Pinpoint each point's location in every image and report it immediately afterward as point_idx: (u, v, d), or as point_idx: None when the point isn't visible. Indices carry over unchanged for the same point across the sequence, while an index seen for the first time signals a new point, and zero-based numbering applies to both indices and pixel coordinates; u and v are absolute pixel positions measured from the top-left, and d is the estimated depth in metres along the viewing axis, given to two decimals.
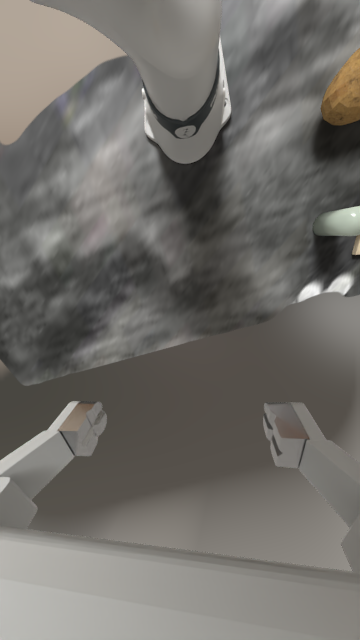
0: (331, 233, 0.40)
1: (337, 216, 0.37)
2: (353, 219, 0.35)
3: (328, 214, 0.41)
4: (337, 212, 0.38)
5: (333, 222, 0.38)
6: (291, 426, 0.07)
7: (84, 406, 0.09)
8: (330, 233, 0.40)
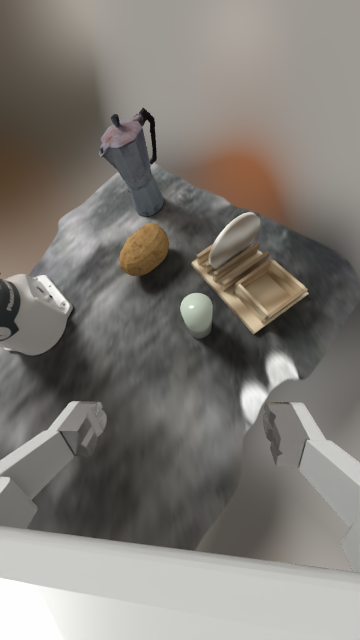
0: (196, 330, 0.33)
1: None
2: (189, 309, 0.29)
3: None
4: None
5: None
6: (291, 426, 0.07)
7: (84, 406, 0.09)
8: (196, 330, 0.33)
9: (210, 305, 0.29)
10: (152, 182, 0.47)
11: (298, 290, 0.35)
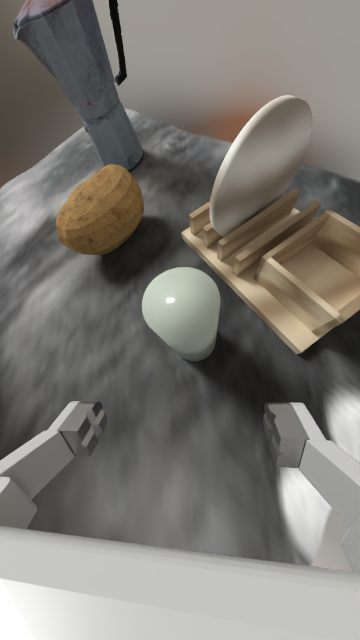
0: (185, 351, 0.15)
1: None
2: (163, 305, 0.12)
3: None
4: None
5: None
6: (291, 426, 0.07)
7: (84, 406, 0.09)
8: (185, 352, 0.16)
9: (214, 295, 0.12)
10: (121, 112, 0.30)
11: None
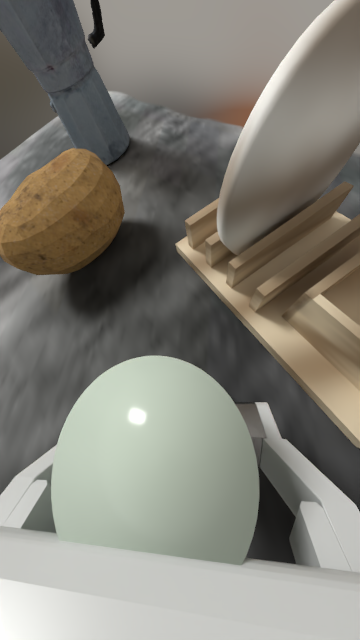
0: None
1: None
2: (103, 472, 0.04)
3: None
4: None
5: None
6: (251, 425, 0.07)
7: None
8: None
9: (242, 457, 0.04)
10: (97, 84, 0.23)
11: None
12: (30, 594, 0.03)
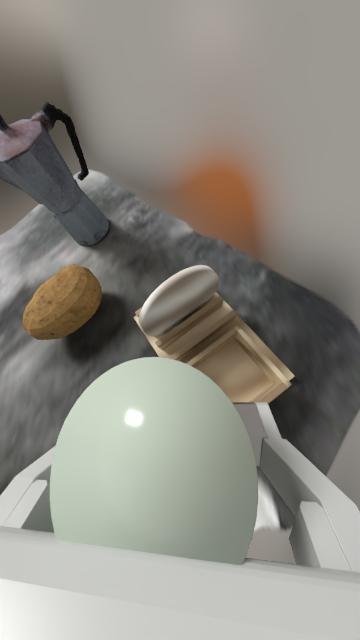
0: None
1: None
2: (102, 474, 0.04)
3: None
4: None
5: None
6: (251, 425, 0.07)
7: None
8: None
9: (241, 460, 0.04)
10: (84, 204, 0.34)
11: (277, 380, 0.22)
12: (30, 594, 0.03)
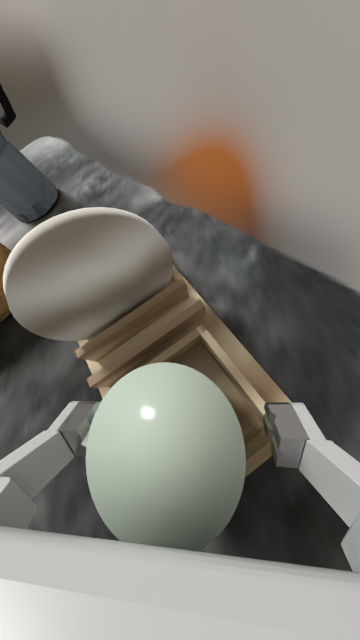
0: None
1: None
2: (127, 453, 0.06)
3: None
4: None
5: None
6: (291, 426, 0.07)
7: (84, 406, 0.09)
8: None
9: (233, 441, 0.05)
10: (11, 159, 0.25)
11: None
12: (30, 594, 0.03)
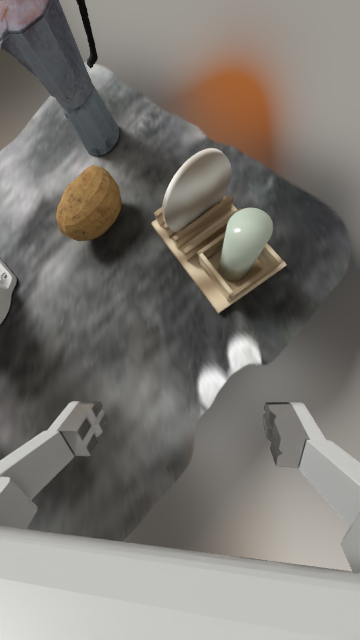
0: (239, 266, 0.25)
1: (223, 245, 0.24)
2: (239, 231, 0.21)
3: None
4: None
5: (226, 253, 0.24)
6: (291, 426, 0.07)
7: (84, 406, 0.09)
8: (239, 267, 0.26)
9: (270, 224, 0.21)
10: (96, 99, 0.33)
11: (272, 261, 0.28)
12: (30, 594, 0.03)
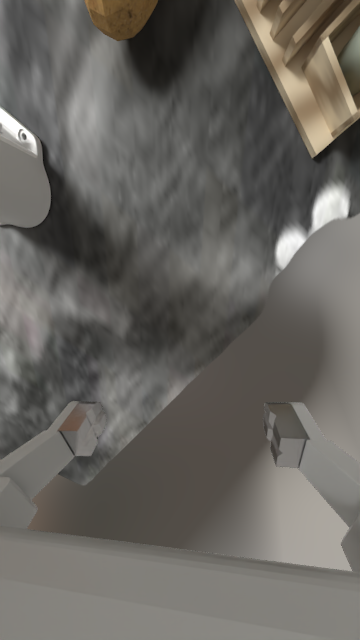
0: None
1: None
2: None
3: (355, 35, 0.19)
4: None
5: None
6: (291, 426, 0.07)
7: (84, 406, 0.09)
8: None
9: None
10: None
11: None
12: (30, 594, 0.03)
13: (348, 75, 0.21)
